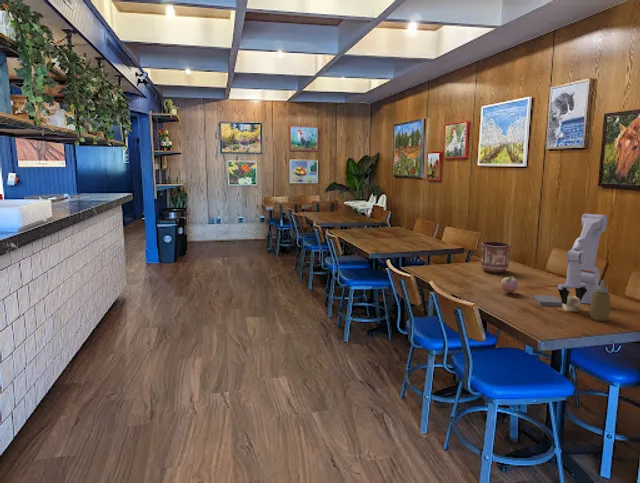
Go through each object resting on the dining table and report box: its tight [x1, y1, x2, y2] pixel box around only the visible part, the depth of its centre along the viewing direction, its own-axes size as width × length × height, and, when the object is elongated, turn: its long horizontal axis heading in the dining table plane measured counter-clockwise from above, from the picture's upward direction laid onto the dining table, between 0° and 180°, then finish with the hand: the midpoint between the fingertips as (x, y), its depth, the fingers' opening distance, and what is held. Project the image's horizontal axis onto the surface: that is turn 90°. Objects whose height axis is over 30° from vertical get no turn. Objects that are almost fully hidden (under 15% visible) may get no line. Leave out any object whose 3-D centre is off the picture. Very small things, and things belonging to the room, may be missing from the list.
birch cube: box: [561, 295, 581, 312], centre depth 219 cm, size 6×6×6 cm
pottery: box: [480, 240, 511, 274], centre depth 292 cm, size 18×18×18 cm
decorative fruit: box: [500, 275, 519, 294], centre depth 244 cm, size 9×8×10 cm
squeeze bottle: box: [588, 279, 611, 322], centre depth 204 cm, size 8×8×18 cm
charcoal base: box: [532, 294, 562, 307], centre depth 230 cm, size 11×11×2 cm
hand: (571, 303), depth 219 cm, fingers open, 7 cm apart
